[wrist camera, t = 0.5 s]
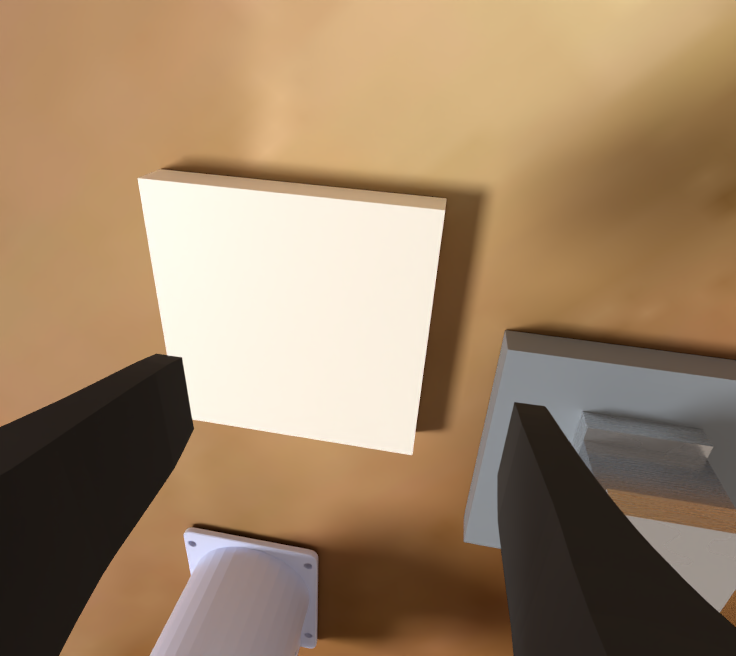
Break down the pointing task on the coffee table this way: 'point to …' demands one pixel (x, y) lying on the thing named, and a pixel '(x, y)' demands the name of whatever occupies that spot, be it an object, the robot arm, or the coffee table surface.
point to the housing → (667, 495)
